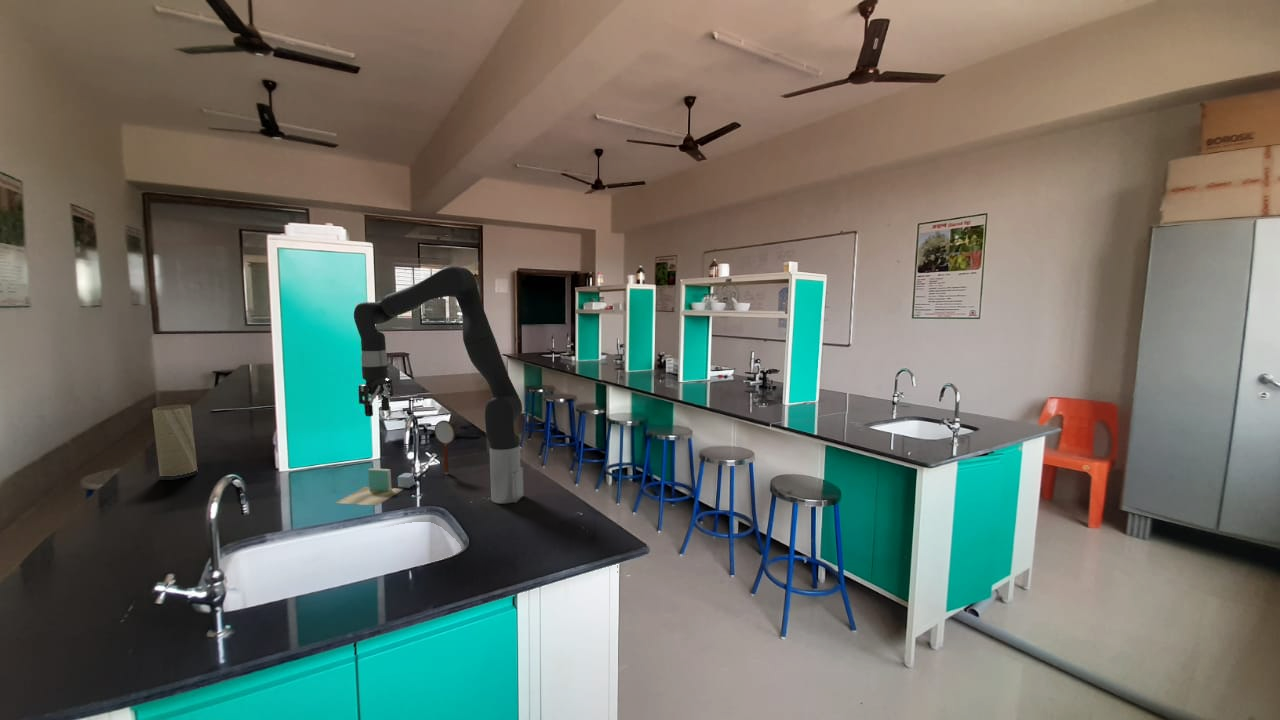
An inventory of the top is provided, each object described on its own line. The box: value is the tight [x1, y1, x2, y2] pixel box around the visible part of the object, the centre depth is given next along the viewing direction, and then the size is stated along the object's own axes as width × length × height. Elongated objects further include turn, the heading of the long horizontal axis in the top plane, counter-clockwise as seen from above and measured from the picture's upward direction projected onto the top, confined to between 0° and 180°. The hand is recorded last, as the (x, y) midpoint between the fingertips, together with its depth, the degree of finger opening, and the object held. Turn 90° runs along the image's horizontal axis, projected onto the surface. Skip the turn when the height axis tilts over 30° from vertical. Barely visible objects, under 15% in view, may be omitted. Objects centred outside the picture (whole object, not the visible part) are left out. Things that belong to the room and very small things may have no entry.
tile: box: [367, 467, 393, 491], centre depth 170 cm, size 7×2×7 cm, turn 82°
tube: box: [151, 404, 198, 477], centre depth 183 cm, size 10×10×25 cm
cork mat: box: [335, 486, 404, 507], centre depth 165 cm, size 14×14×1 cm
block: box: [397, 472, 416, 489], centre depth 175 cm, size 4×4×4 cm
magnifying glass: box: [434, 419, 457, 475], centre depth 185 cm, size 9×2×20 cm, turn 71°
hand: (377, 413), depth 169 cm, fingers open, 8 cm apart
